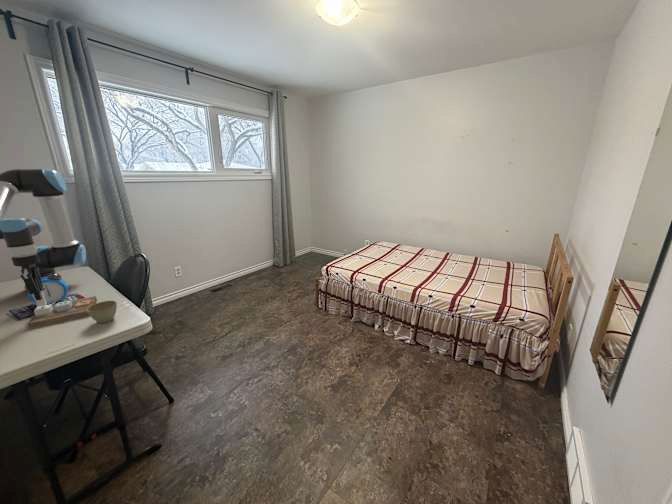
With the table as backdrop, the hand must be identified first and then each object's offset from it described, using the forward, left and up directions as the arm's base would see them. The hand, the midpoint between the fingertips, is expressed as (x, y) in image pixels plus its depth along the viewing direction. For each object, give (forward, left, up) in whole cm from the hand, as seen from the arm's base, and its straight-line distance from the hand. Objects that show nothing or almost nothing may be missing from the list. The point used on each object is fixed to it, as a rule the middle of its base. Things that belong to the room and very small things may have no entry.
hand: (42, 305), depth 119 cm
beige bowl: (+19, +23, -6) cm, 30 cm away
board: (0, +7, -6) cm, 9 cm away
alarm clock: (-18, -1, -6) cm, 19 cm away
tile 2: (0, +13, -6) cm, 14 cm away
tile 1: (0, 0, -4) cm, 4 cm away
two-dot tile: (0, +7, -4) cm, 8 cm away
